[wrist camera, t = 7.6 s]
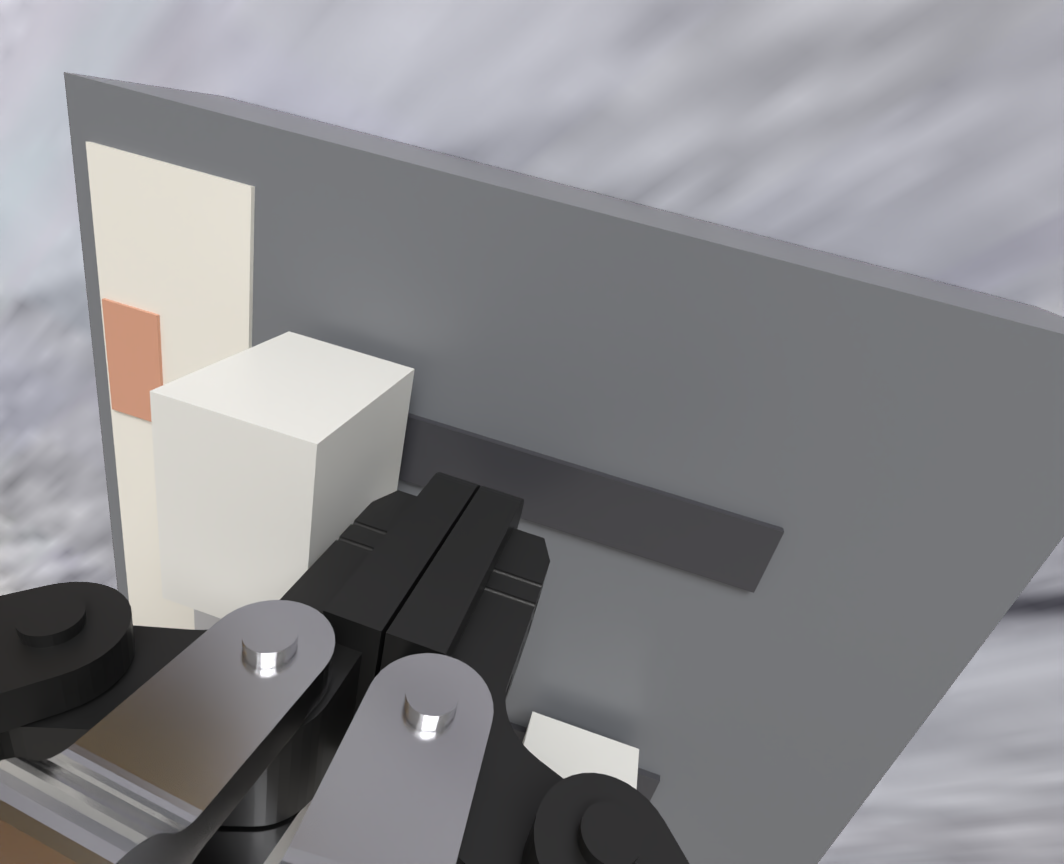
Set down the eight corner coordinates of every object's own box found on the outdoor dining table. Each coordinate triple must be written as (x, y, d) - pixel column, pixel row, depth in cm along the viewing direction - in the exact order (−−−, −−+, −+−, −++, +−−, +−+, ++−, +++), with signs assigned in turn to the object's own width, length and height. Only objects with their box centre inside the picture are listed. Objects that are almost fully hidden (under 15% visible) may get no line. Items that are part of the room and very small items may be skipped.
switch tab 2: (639, 749, 13) (628, 913, 10) (594, 845, 15) (575, 1012, 12) (532, 711, 13) (492, 861, 10) (500, 810, 15) (457, 964, 12)
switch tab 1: (414, 368, 11) (316, 443, 8) (390, 534, 12) (302, 647, 9) (289, 331, 11) (150, 391, 8) (281, 497, 12) (162, 598, 10)
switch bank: (1038, 307, 12) (1200, 371, 8) (661, 930, 23) (658, 1082, 19) (222, 96, 14) (54, 70, 10) (224, 762, 24) (142, 871, 21)
